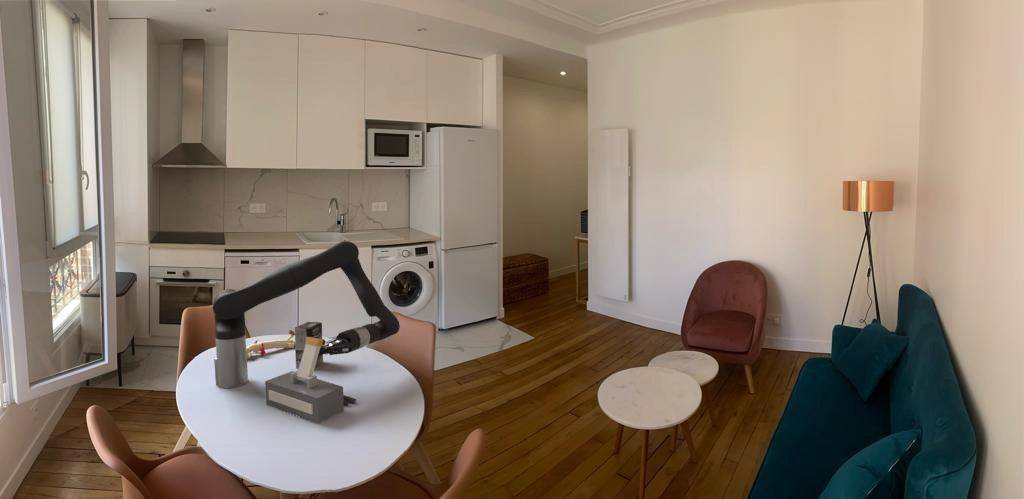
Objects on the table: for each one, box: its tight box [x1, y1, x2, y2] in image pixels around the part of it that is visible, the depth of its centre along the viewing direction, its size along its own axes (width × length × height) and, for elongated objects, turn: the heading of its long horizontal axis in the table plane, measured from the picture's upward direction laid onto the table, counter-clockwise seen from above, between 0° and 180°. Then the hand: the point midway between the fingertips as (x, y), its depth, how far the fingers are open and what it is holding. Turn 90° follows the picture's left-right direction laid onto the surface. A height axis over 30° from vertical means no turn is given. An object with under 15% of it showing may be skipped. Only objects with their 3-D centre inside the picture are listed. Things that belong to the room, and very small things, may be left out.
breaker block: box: [264, 370, 357, 424], centre depth 167 cm, size 17×24×11 cm
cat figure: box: [246, 329, 295, 359], centre depth 213 cm, size 10×9×25 cm
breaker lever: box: [295, 337, 323, 383], centre depth 165 cm, size 2×6×14 cm, turn 62°
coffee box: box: [294, 321, 324, 369], centre depth 201 cm, size 9×6×16 cm
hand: (313, 353), depth 167 cm, fingers closed
